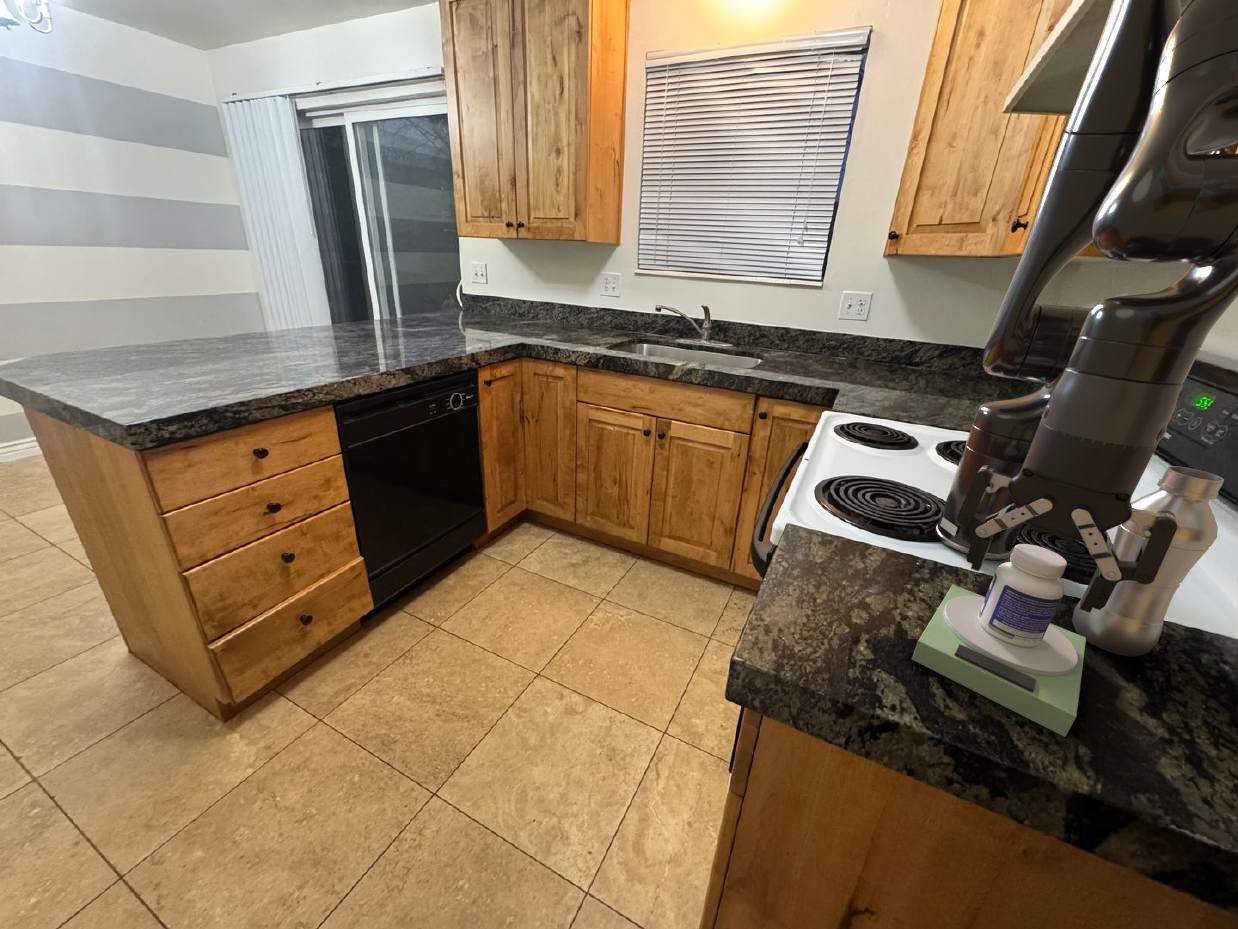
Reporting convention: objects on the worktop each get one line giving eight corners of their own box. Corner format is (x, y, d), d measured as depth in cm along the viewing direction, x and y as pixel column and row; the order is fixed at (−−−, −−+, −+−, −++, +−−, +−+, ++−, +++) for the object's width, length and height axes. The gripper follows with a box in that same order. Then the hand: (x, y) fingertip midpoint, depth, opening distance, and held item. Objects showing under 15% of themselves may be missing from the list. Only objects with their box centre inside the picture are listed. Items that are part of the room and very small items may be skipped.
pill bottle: (1054, 650, 48) (1092, 572, 44) (1000, 647, 48) (1034, 569, 44) (1014, 614, 53) (1046, 541, 49) (965, 611, 53) (993, 538, 49)
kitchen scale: (946, 600, 59) (954, 579, 58) (1076, 655, 52) (1088, 632, 50) (911, 659, 50) (920, 635, 48) (1065, 737, 42) (1079, 711, 41)
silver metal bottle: (1164, 671, 50) (1274, 492, 43) (1088, 658, 51) (1182, 482, 44) (1118, 629, 56) (1207, 465, 48) (1051, 618, 57) (1128, 457, 50)
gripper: (1216, 441, 40) (1126, 605, 46) (1004, 402, 49) (952, 543, 55) (1229, 463, 35) (1126, 644, 41) (989, 414, 44) (935, 569, 50)
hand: (1027, 586), depth 48 cm, fingers open, 8 cm apart
